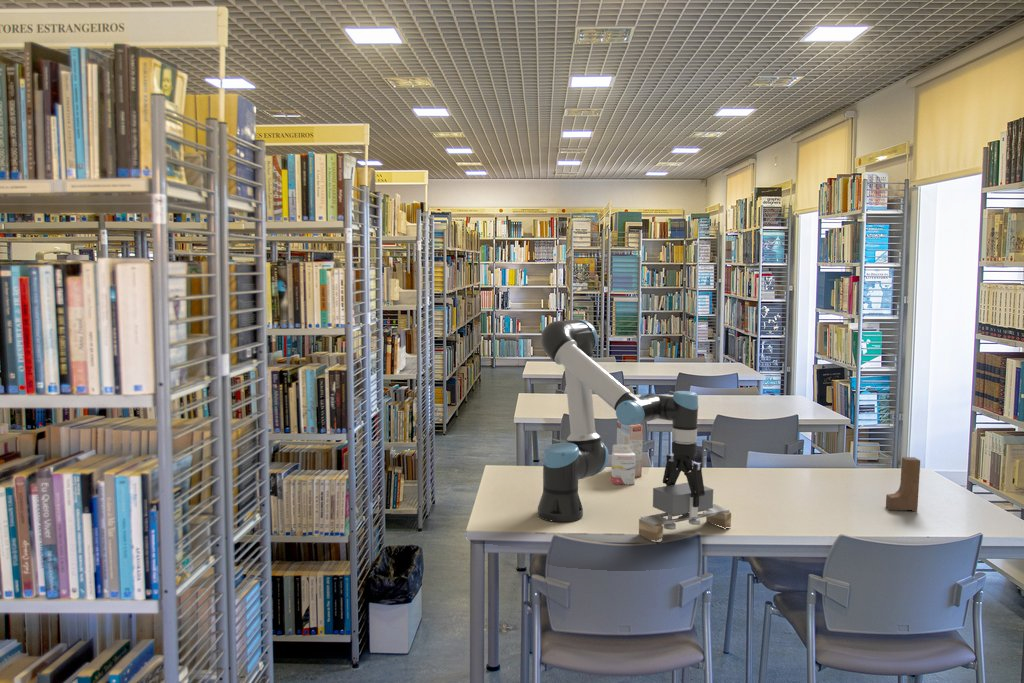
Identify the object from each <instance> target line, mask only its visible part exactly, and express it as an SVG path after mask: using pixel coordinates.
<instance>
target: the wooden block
mask: <svg viewBox="0 0 1024 683" xmlns="http://www.w3.org/2000/svg"><path fill="white" fill-rule="evenodd" d="M900 467H901V468H900V473H901V474H900V484H899V487H898V489H897V491H895V492H894V493H887V494H886V495H885V496H886V498H885V507H886V508H887V509H888V508H889V509H888V510H890V511H893V510H905V511H904V512H907V511H906V510H912V511H911V512H917V511H918V507H919V506H918V504H919V490H920V488H919V487H920V474H921V473H920V472H921V459H918V458H916V457H913V456H912V457H911V456H908V457H907V456H902V457H901V466H900Z"/></svg>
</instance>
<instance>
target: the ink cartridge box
mask: <svg viewBox="0 0 1024 683" xmlns="http://www.w3.org/2000/svg"><path fill="white" fill-rule="evenodd" d="M620 447H626V448H627V449H619V448H620ZM635 461H636V455H635V454H634V453H633V445H620V444H619V445H617V444H612V452H611V472H610V482H611V483H612V485H613V484H614V485H615V484H622V485H621V486H623V485H624V484H625V485H624V486H626V484H627V486H628V485H629V484H635V485H636V483H635V482H636V481H635V480H636V477H635ZM629 486H630V485H629Z"/></svg>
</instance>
